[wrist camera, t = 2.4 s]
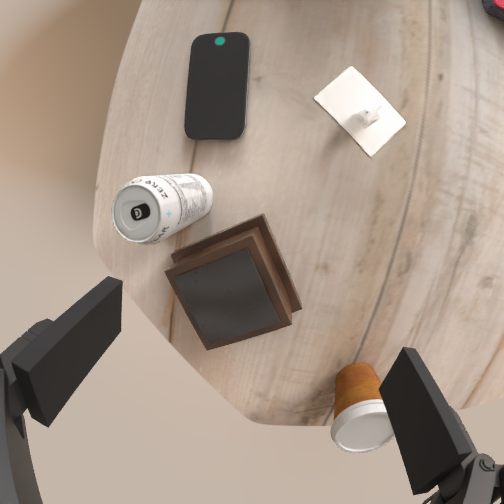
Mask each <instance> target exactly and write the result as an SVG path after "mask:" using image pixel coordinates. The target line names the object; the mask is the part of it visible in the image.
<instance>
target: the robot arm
mask: <svg viewBox="0 0 504 504" xmlns="http://www.w3.org/2000/svg"><path fill="white" fill-rule="evenodd" d="M122 285H123V281H122V280H118V279H115V278H112V277H109V276H108V277H106V278H105V279H104V280H103V281H102V282H100V283H99V284H98V285H97V286H95V287H94V288H93V289H92V290H90V291H89V292H88V293H87V294H86V295H84V296H83V297H82V298H81V299H80V300H78V301H77V302H76V303H75V304H74V305H72V306H71V307H70V308H69V309H68V310H67V311H65V313H63V314H62V315H61V316H60V317H58V318H57V319H56V320H55V321H52V320H50V319H45V320H42V321H40V322H38V323H36V324H35V325H33V326H32V327H31V328H30V329H29V330H28V332H27V331H26V332H25V333H24V334H23V335H22V336H21V337H20V338H18V339H17V340H16V341H15V342H14V343H12V344H11V345H10V346H9V347H8V348H7V349H6V350H5V351H3V352H2V353H1V354H0V504H43V502H42V499H41V496H40V492H39V489H38V486H37V481H36V478H35V473H34V469H33V465H32V460H31V456H30V451H29V445H28V439H27V433H26V427H25V419H24V416H23V413H24V411H25V410H26V409H27V408H28V410H29V412H30V414H31V417H32V418H33V419H35V420H36V421H38V422H40V423H41V424H43V425H44V426H46V427H49V426H50V425H51V423H52V422H53V420H54V419H55V418H56V416H57V415H58V413H59V412H60V411H61V409H62V408H63V406H64V405H65V403H66V402H67V401H68V400H69V398H70V397H71V395H72V394H73V393H74V391H75V390H76V389H77V387H78V386H79V385H80V383H81V382H82V381H83V379H84V378H85V377H86V376H87V374H88V373H89V372H90V370H91V369H92V367H93V366H94V365H95V364H96V362H97V361H98V360H99V359H100V357H101V356H102V354H103V353H104V352H105V351H106V350H107V348H108V347H109V346H110V345H111V343H112V342H113V341H114V340H115V338H116V337H117V336H118V334H119V333H120V332H121V310H122ZM379 392H380V395H381V397H382V400H383V403H384V406H385V408H386V411H387V414H388V417H389V420H390V423H391V426H392V428H393V431H394V434H395V437H396V440H397V443H398V446H399V449H400V452H401V455H402V459H403V462H404V465H405V468H406V472H407V475H408V478H409V481H410V485H411V489H412V492H413V495H417V494H422V493H427V492H429V491H430V490H431V489H433V488H434V487H435V486H436V485H437V484H438V487H439V490H438V491H437V492H435V493H434V494H433V495H432V496H430V497H429V498H428V499H426V500H425V501H424V503H423V504H426V503H428V502H429V501H430V500H431V503H430V504H493V503H494V502H495V501H497V500H498V499H499V498H500V497H501V503H500V504H504V465H497V464H495V461H494V460H493V459H492V458H491V457H490V456H489V455H486V454H478V452H477V450H476V448H475V446H474V444H473V442H472V440H471V438H470V436H469V434H468V432H467V431H465V429H466V428H465V427H464V425H463V424H462V421H461V419H460V417H459V416H458V414H457V413H456V412H455V411H454V410H453V408H452V407H451V406H449V405H448V403H447V401H446V400H445V398H444V396H443V394H442V393H441V391H440V389H439V387H438V386H437V384H436V382H435V380H434V379H433V377H432V375H431V374H430V372H429V370H428V369H427V367H426V365H425V364H424V362H423V360H422V359H421V357H420V356H419V354H418V352H417V351H416V349H414V348H407V347H403V348H402V350H401V352H400V353H399V355H398V357H397V359H396V361H395V362H394V364H393V366H392V367H391V369H390V371H389V373H388V374H387V376H386V378H385V379H384V381H383V382H382V384H381V386H380V387H379Z"/></svg>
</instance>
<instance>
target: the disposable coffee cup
mask: <svg viewBox="0 0 504 504" xmlns="http://www.w3.org/2000/svg"><path fill="white" fill-rule="evenodd" d="M380 386H381V382H380V380H379V378H378V377H377V375H376V373H375V371H374V370H373V368H372V367H371V366H370V365H368V364H365V363H354V364H351V365H348V366H346V367H345V368H343V369H342V370H341V371H340V372H339V373H338V375H337V377H336V391H335V411H334V422H333V424H332V427H331V437H332V439H333V441H334V442H335V443H336V445H337V446H338V447H339V448H340V449H341V450H344V451H346V452H351V453H363V452H369V451H372V450H376V449H378V448H380V447H382V446H384V445H386V444H387V443H388V442H390V441H391V440H392V439H393V438H394V437H395V434H394V431H393V428H392V426H391V423H390V420H389V417H388V414H387V411H386V408H385V406H384V403H383V400H382V397H381V395H380V392H379V387H380Z"/></svg>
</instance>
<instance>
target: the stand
mask: <svg viewBox="0 0 504 504" xmlns="http://www.w3.org/2000/svg"><path fill="white" fill-rule="evenodd" d="M171 257H172V259H173V261H174V264H173V265H172V266H171V267H169V268H168V269H167V270H166V271H165V274H166V276H167V278H168V280H169V282H170V284H171V285H172V287H173V289H174V291H175V293H176V295H177V297H178V299H179V301H180V303H181V305H182V307H183V308H184V310H185V312H186V314H187V316H188V318H189V320H190V321H191V323H192V325H193V327H194V329H195V330H196V332H197V334H198V336H199V338H200V339H201V341H202V343H203V345H204V346H205V348H206V350H210V349H214V348H218V347H221V346H225V345H228V344H232V343H235V342H238V341H242V340H245V339H248V338H252V337H255V336H258V335H261V334H265V333H268V332H271V331H274V330H277V329H280V328H283V327H286V326H289V325H292V312H295V311H298V310H301V309H302V303H301V301H300V298H299V296H298V294H297V291H296V289H295V286H294V284H293V281H292V279H291V277H290V274H289V272H288V269H287V267H286V265H285V262H284V260H283V258H282V255H281V253H280V250H279V248H278V246H277V243H276V241H275V239H274V236H273V234H272V232H271V229H270V227H269V225H268V222H267V220H266V218H265V215H264V214H261V215H258V216H256V217H253V218H251V219H249V220H246V221H244V222H242V223H239V224H237V225H234V226H232V227H230V228H227V229H225V230H223V231H220V232H218V233H216V234H213V235H211V236H209V237H206V238H204V239H202V240H200V241H197V242H195V243H193V244H190V245H188V246H186V247H184V248H181V249H179V250H177V251H175V252H173V253H172V254H171Z"/></svg>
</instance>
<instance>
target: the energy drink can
mask: <svg viewBox="0 0 504 504" xmlns="http://www.w3.org/2000/svg"><path fill="white" fill-rule="evenodd" d="M212 203H213V193H212V189H211V187H210V185H209V183H208V182H207V181H206V180H205V179H204V178H202V177H201V176H199V175H196V174H173V175H156V176H142V177H137V178H135V179H133V180H131V181H129V182H128V183H127V184H126V185H125V186H124V187H123V188H122V190H120V191H119V192H118V194H117V195H116V197H115V199H114V201H113V204H112V210H111V213H112V220H113V224H114V226H115V228H116V230H117V232H118V233H119V234H120V235H121V236H122V237H123V238H125V239H126V240H128V241H131V242H134V243H139V244H142V245H152V244H156V243H158V242H160V241H162V240H164V239H166V238H168V237H169V236H171V235H173V234H175V233H176V232H178V231H180V230H182V229H184V228H185V227H187V226H189V225H191V224H193V223H194V222H196V221H198V220H200V219H201V218H203V217H204V216H206V215H207V214H208V212H209V211H210V209H211V206H212Z"/></svg>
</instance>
